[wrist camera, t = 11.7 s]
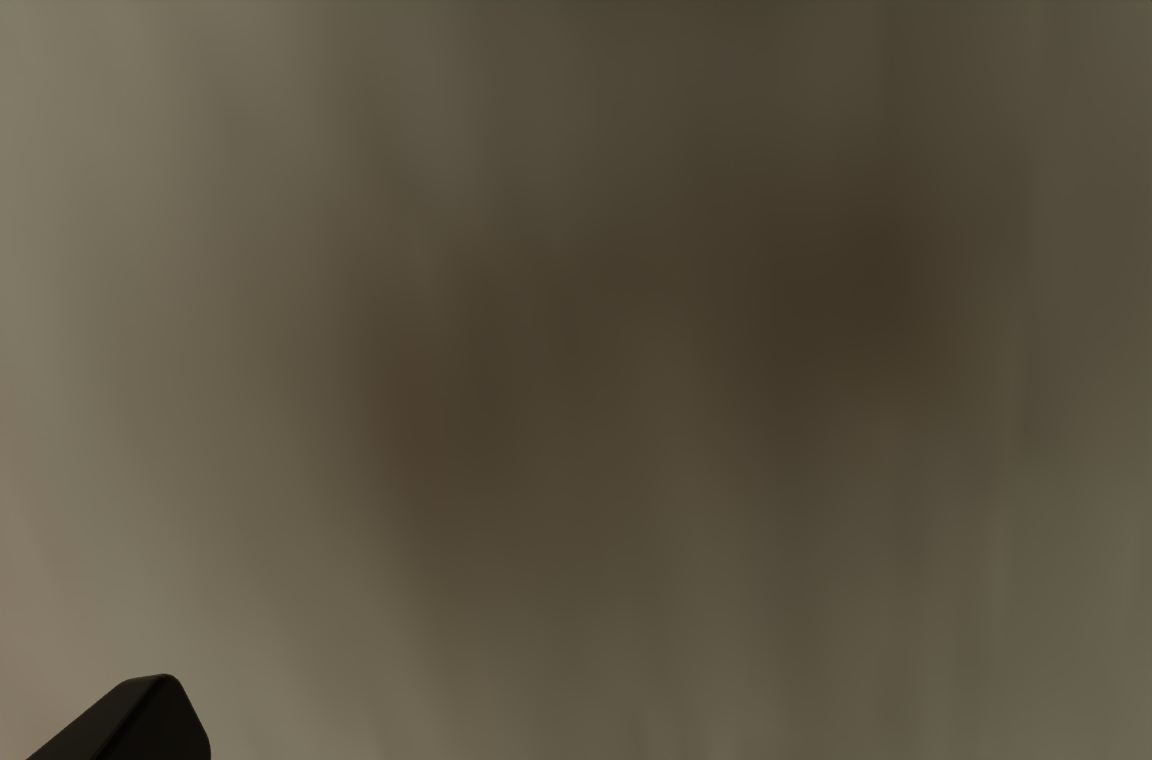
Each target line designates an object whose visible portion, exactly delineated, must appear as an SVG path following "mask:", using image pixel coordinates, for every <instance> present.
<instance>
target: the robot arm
mask: <svg viewBox="0 0 1152 760" xmlns="http://www.w3.org/2000/svg"><path fill="white" fill-rule="evenodd" d="M26 760H211V749H210V743H209V739H208V737H207V734H206V732H205V730H204V728H203V726H202V724H201V722H200V720H199V718H198V716H197V714H196V712H195V710H194V708H193V706H192V704H191V702H190V700H189V698H188V696H187V694H186V692H185V691H184V689H183V687H182V685H181V683H180V682H179V680H178V679H176V678H175V677H174V676H172V675H170V674H157V675H151V676H144V677H138V678H132V679H128V680H125V681H123V682H121V683H120V684H118V685H117V686H116V687H114V688H113V689H112V690H111V691H110V692H108V693H107V694H106V695H105V696H103V697H102V698H101V699H100V700H99V701H97V702H96V703H95V704H94V705H92V706H91V707H90V708H89V709H88V710H86V711H85V712H84V713H83V714H81V715H80V716H79V717H78V718H76V719H75V720H74V721H73V722H72V723H70V724H69V725H68V726H67V727H65V728H64V729H63V730H62V731H61V732H59V733H58V734H57V735H56V736H54V737H53V738H52V739H51V740H49V741H48V742H47V743H46V744H45V745H43V746H42V747H41V748H40V749H38V750H37V751H36V752H35V753H34V754H32V755H31V756H30V757H29V758H27V759H26Z"/></svg>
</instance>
